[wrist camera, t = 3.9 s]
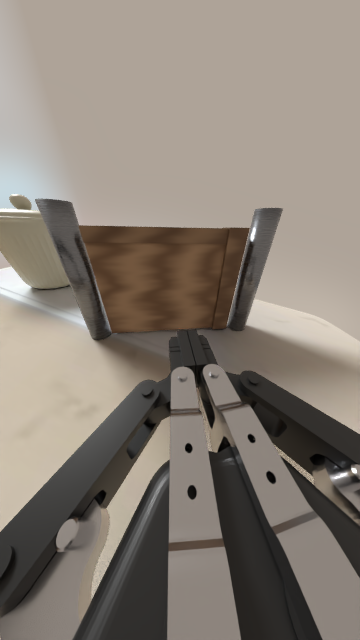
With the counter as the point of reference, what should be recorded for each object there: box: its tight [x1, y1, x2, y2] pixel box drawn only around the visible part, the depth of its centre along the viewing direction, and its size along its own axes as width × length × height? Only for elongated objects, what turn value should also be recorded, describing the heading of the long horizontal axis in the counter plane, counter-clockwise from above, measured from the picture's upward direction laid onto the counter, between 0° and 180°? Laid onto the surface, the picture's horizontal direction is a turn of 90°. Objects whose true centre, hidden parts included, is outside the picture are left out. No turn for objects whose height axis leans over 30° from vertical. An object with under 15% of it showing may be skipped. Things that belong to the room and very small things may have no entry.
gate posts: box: [35, 199, 283, 340], centre depth 20 cm, size 26×3×17 cm, turn 97°
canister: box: [0, 194, 70, 289], centre depth 38 cm, size 18×18×21 cm
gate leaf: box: [78, 226, 249, 333], centre depth 21 cm, size 19×2×15 cm, turn 97°
